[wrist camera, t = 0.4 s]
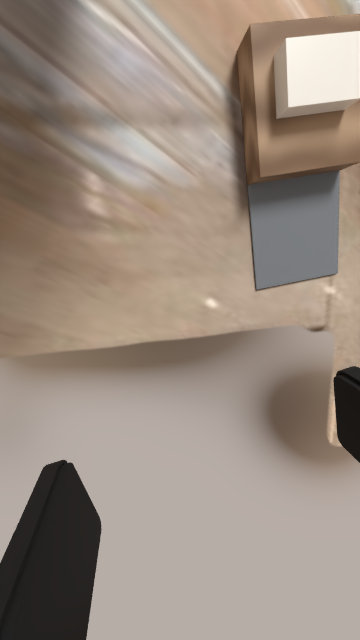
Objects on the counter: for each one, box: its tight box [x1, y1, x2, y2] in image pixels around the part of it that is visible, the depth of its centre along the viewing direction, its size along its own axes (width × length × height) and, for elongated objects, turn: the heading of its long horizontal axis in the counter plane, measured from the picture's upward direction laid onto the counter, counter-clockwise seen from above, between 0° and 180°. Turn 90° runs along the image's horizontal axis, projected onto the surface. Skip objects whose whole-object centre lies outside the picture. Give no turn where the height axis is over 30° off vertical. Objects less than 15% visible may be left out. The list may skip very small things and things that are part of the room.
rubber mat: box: [247, 171, 339, 290], centre depth 38 cm, size 15×14×1 cm
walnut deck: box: [237, 14, 360, 185], centre depth 32 cm, size 15×14×4 cm
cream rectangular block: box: [274, 31, 360, 119], centre depth 28 cm, size 6×9×2 cm, turn 100°
